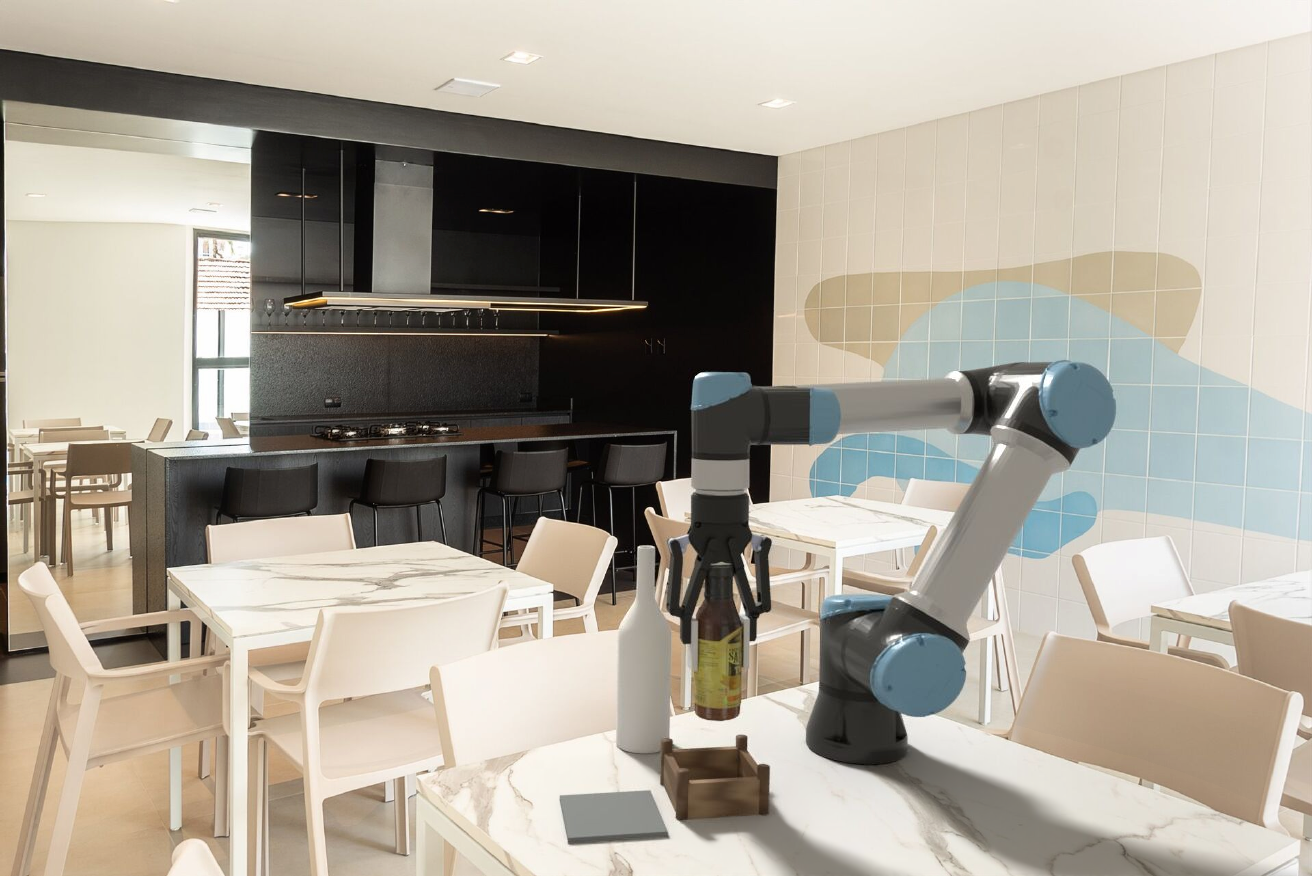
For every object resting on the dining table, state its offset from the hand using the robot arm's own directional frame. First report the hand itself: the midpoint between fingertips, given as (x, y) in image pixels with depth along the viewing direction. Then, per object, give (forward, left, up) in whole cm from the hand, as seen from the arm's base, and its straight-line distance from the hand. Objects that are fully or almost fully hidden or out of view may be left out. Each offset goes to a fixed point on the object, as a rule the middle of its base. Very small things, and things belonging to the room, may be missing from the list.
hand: (718, 666), depth 128 cm
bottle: (+6, -20, -18) cm, 27 cm away
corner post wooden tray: (0, 0, -18) cm, 18 cm away
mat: (+14, +4, -18) cm, 23 cm away
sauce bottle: (0, 0, -7) cm, 7 cm away
